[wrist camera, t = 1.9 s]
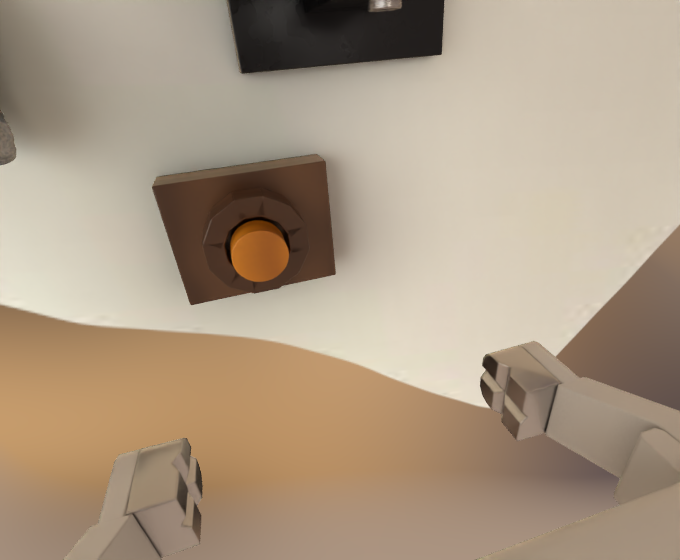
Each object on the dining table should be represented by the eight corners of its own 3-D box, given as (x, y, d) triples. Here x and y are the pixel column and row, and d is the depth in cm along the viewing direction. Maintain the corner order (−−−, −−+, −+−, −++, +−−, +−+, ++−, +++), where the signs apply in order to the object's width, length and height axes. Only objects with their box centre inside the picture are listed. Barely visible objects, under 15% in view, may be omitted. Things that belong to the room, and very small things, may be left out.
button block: (191, 289, 27) (189, 321, 24) (155, 176, 23) (146, 196, 20) (328, 261, 29) (343, 287, 26) (317, 153, 25) (333, 167, 22)
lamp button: (236, 273, 24) (238, 287, 22) (224, 224, 22) (225, 236, 21) (287, 263, 24) (292, 275, 23) (279, 215, 23) (284, 225, 21)
